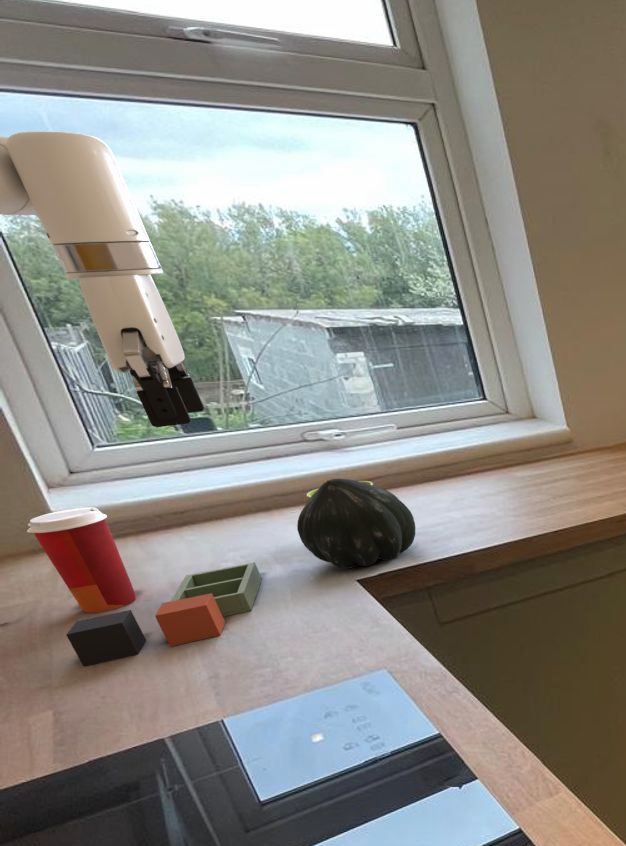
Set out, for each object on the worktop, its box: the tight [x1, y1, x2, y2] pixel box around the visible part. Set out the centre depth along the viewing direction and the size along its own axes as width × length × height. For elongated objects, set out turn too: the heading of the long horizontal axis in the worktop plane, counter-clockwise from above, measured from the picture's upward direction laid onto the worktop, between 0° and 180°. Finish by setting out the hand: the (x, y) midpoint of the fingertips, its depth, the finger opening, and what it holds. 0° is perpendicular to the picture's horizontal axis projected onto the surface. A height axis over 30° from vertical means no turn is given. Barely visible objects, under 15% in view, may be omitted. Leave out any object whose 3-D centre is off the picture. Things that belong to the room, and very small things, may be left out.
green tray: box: [170, 561, 263, 618], centre depth 118 cm, size 8×15×3 cm, turn 36°
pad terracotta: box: [154, 593, 226, 647], centre depth 107 cm, size 5×5×4 cm
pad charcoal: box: [65, 609, 147, 667], centre depth 103 cm, size 5×5×4 cm
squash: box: [296, 478, 416, 569], centre depth 130 cm, size 14×15×15 cm
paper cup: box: [26, 506, 137, 614], centre depth 116 cm, size 8×8×14 cm
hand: (180, 418), depth 94 cm, fingers open, 9 cm apart
